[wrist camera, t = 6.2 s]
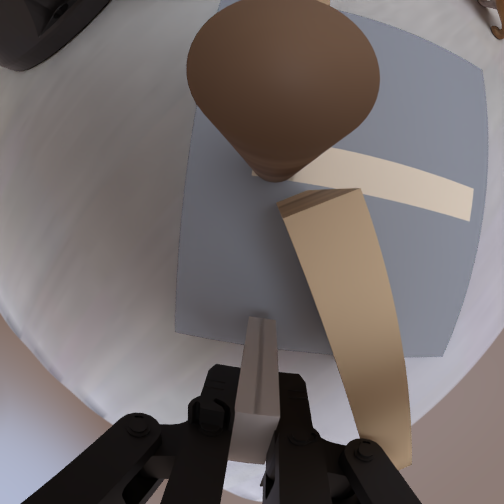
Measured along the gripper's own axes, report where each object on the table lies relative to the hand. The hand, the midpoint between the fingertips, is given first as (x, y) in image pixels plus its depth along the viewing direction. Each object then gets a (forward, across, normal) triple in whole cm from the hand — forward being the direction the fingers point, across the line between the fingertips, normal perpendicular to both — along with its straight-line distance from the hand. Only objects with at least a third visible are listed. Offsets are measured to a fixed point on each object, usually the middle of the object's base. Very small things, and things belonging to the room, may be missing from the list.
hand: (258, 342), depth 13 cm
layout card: (+2, +4, +9) cm, 10 cm away
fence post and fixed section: (+2, -1, +13) cm, 14 cm away
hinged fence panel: (+1, +3, +3) cm, 4 cm away
